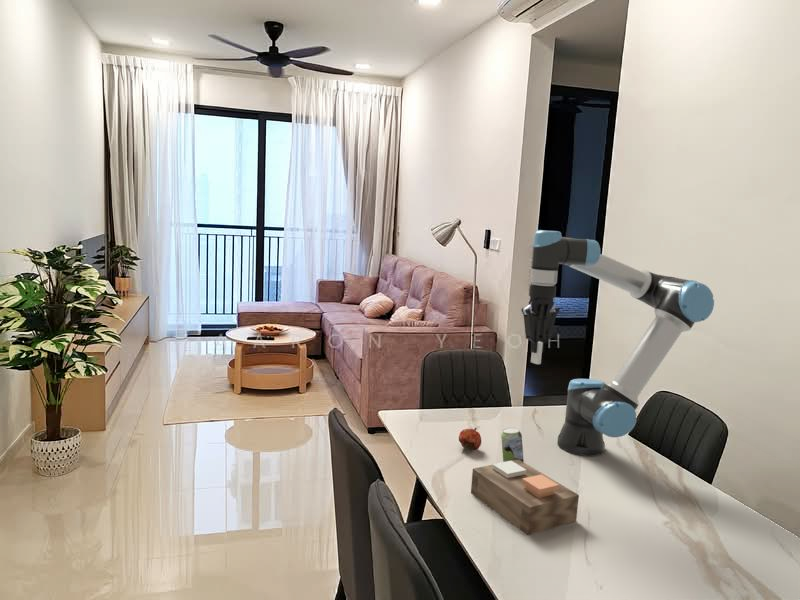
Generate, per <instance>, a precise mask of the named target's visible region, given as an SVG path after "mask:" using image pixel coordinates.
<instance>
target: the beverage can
mask: <svg viewBox="0 0 800 600" xmlns="http://www.w3.org/2000/svg"><path fill="white" fill-rule="evenodd" d="M501 447H502V448H501V449H502V462H506V461H513V460H518V459H519V460H521V461H522V462H524V463H525V461H524V448H523V447H524V446H523V436H522V432H521V431H520V429H519V428H516V427H508V428H504V429H502V433H501Z"/></svg>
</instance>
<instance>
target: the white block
mask: <svg viewBox="0 0 800 600" xmlns="http://www.w3.org/2000/svg"><path fill="white" fill-rule="evenodd" d="M492 465H493V466H492V469H494V470H496V471H497V472H499V473H500V474H502V475H503V476H505V477H506V478H511V477H515V476H520V475H524V474H526V471H527V470H526V469H524V468H523V467H521V466H519V465H518V464H516V463H514V462H513V461H506V462H503V461H502V462H497V463H492Z"/></svg>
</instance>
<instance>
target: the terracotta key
mask: <svg viewBox="0 0 800 600" xmlns="http://www.w3.org/2000/svg"><path fill="white" fill-rule="evenodd" d="M554 481H555V480H554ZM554 481H552V480H550V479H548V478H547V477H545V476H543V475H542V474H541V475H536V476H532V477H527V478H523V479H522V483H523V484H524V485H526V488H525V490H527V491H528V492H530V493H531V494H533V495H534V496H536V497H538V498H542V497H546V496H550V495H554V490H558V489H559V484H560V483H559V484H557V483H555V482H554Z"/></svg>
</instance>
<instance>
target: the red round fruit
mask: <svg viewBox="0 0 800 600" xmlns="http://www.w3.org/2000/svg"><path fill="white" fill-rule="evenodd" d="M458 441H459V443H460V444H461V446H462V447H463V448H464V449H463V451H462V454H464V453H465V451H466V449H467V450H471V451H477V450H478V449H479V448H480V447H481V446H482V437H481V434H480V432H479V431H477V427H475V428H466V429H465V428H464V429H462V430H461V431H460V432H459V435H458Z"/></svg>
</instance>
